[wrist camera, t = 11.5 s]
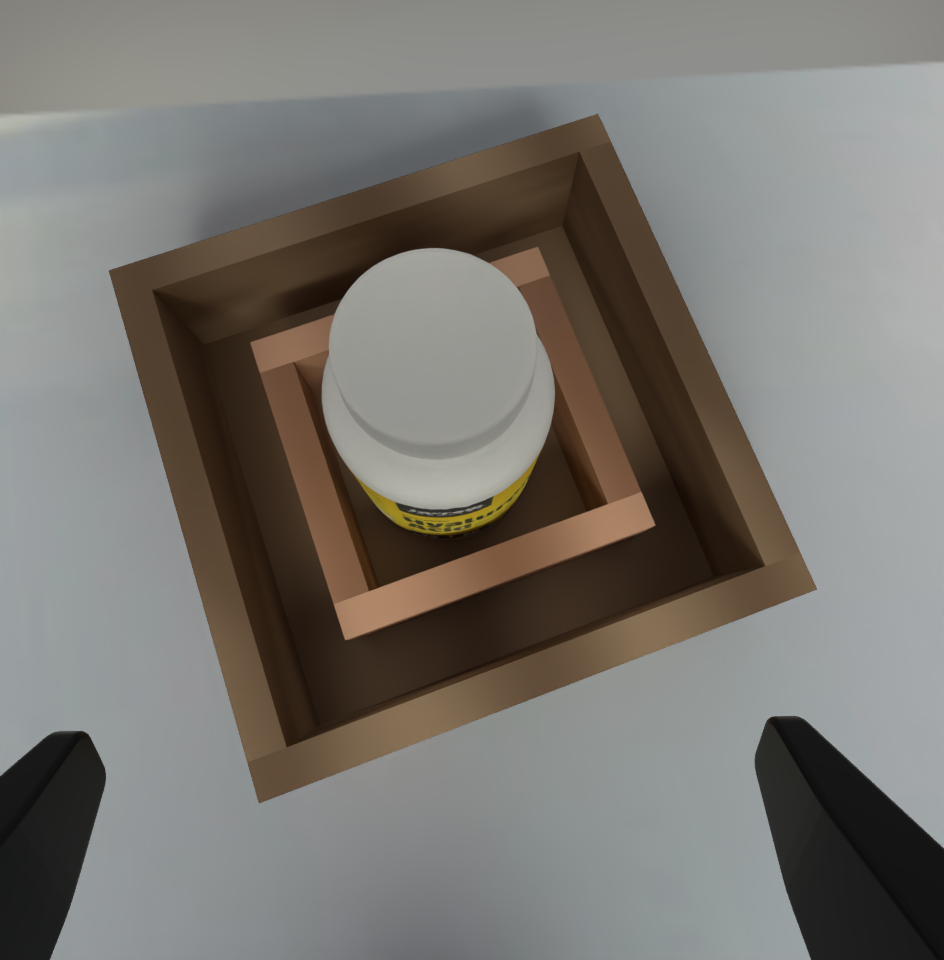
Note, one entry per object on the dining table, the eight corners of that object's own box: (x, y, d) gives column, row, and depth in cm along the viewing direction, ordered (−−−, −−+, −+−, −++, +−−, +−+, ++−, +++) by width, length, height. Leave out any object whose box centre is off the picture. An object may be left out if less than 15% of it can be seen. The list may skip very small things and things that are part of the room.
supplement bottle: (406, 572, 22) (355, 530, 12) (337, 423, 23) (241, 277, 13) (559, 498, 22) (625, 403, 13) (485, 356, 23) (495, 168, 14)
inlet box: (302, 766, 21) (258, 803, 17) (174, 335, 24) (108, 270, 20) (748, 596, 22) (817, 589, 18) (575, 203, 25) (598, 113, 21)
